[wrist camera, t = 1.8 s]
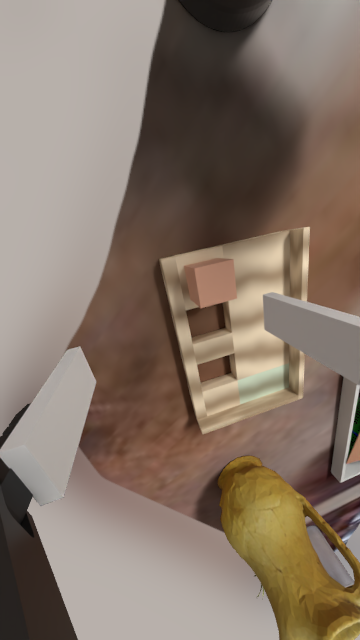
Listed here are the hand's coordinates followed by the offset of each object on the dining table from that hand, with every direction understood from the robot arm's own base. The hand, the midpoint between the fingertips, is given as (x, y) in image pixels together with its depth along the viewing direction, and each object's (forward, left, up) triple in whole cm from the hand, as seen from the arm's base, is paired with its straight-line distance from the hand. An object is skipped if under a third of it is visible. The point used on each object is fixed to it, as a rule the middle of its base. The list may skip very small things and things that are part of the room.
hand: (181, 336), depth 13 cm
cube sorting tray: (+11, +12, -18) cm, 24 cm away
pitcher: (+52, +11, -19) cm, 56 cm away
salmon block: (0, +7, -16) cm, 18 cm away
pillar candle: (+99, +31, -19) cm, 106 cm away
